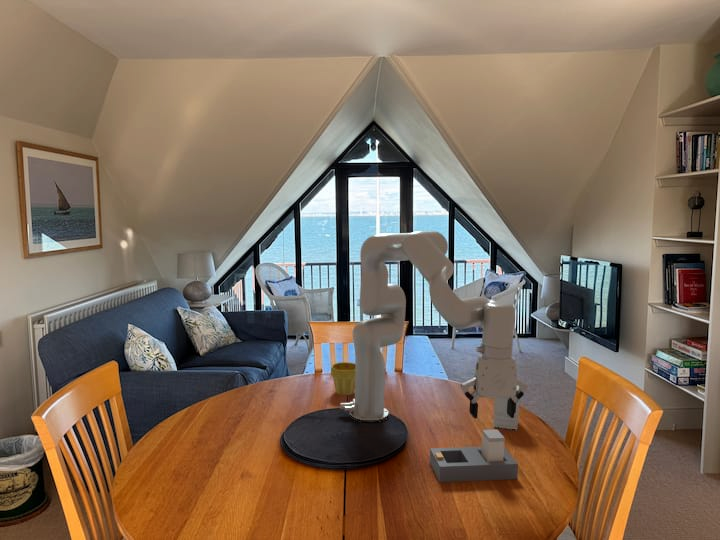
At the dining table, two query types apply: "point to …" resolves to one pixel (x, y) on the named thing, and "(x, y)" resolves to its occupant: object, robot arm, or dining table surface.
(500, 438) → the plug
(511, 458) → the power strip
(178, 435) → the dining table surface
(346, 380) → the plant pot
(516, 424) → the supplement box
